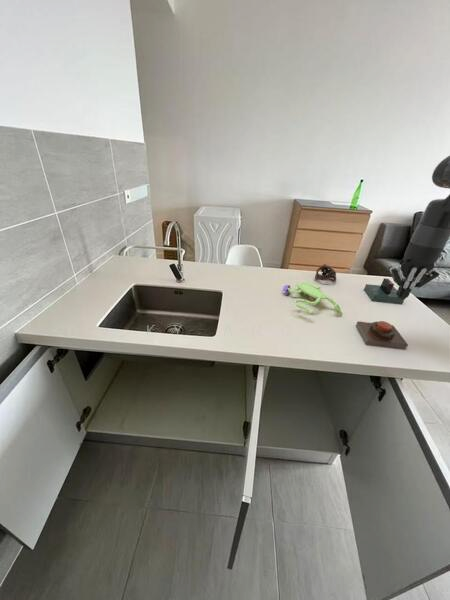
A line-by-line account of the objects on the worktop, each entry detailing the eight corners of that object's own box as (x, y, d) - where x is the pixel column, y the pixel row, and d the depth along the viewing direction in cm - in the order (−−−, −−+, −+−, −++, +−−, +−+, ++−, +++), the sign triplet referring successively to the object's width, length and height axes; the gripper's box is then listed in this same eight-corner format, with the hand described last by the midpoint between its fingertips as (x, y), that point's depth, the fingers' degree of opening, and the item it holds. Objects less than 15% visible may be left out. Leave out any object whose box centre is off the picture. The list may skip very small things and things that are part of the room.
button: (386, 326, 81) (388, 321, 80) (392, 333, 78) (394, 329, 77) (374, 324, 81) (376, 320, 81) (379, 332, 78) (381, 327, 77)
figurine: (298, 322, 87) (301, 309, 84) (276, 286, 109) (278, 275, 106) (346, 321, 89) (351, 308, 86) (315, 286, 111) (318, 275, 108)
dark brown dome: (339, 286, 114) (337, 273, 108) (318, 291, 117) (315, 279, 112) (332, 269, 122) (330, 257, 117) (313, 275, 125) (310, 263, 120)
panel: (391, 292, 109) (394, 286, 108) (402, 304, 101) (405, 297, 99) (363, 289, 111) (366, 283, 109) (372, 301, 102) (374, 294, 100)
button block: (390, 330, 85) (395, 321, 83) (405, 349, 77) (410, 340, 75) (355, 326, 86) (359, 317, 84) (365, 345, 78) (370, 335, 76)
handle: (379, 287, 107) (384, 277, 104) (384, 287, 106) (388, 278, 104) (385, 293, 102) (389, 283, 99) (389, 294, 102) (394, 284, 99)
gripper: (445, 239, 67) (416, 293, 76) (394, 236, 68) (372, 289, 77) (464, 248, 61) (431, 306, 70) (408, 244, 62) (382, 302, 71)
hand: (400, 297), depth 74 cm, fingers closed
